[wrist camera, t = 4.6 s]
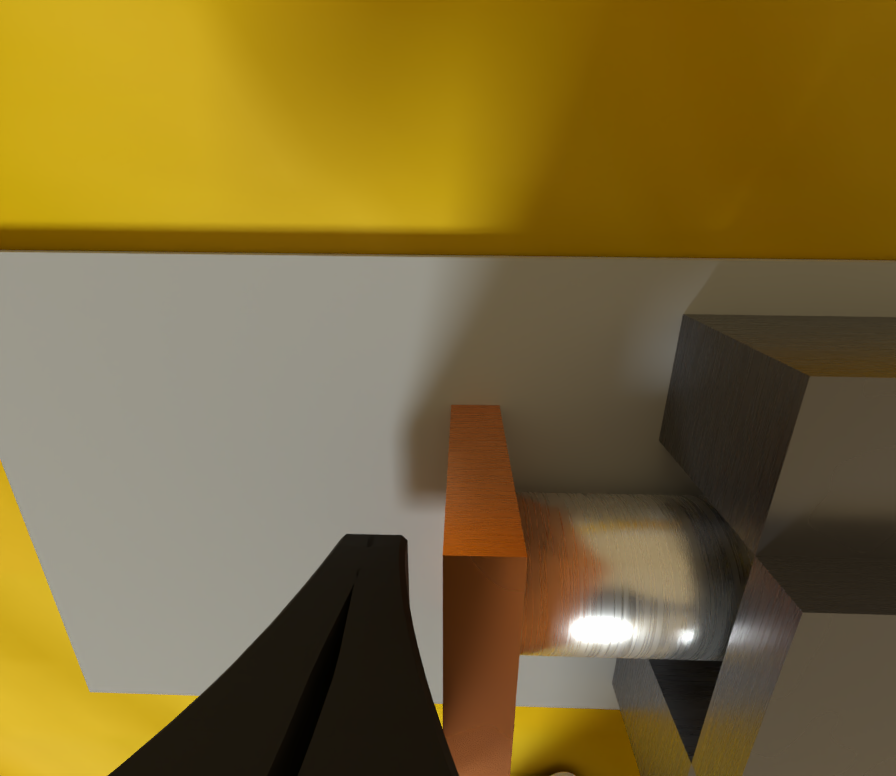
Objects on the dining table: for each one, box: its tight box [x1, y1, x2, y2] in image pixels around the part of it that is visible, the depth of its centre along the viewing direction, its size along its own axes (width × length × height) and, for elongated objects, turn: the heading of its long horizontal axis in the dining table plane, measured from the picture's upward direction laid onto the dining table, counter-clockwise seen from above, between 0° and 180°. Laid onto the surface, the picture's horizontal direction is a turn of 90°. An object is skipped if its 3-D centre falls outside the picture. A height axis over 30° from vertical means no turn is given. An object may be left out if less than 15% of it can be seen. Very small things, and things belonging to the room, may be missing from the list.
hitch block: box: [612, 314, 896, 776], centre depth 9 cm, size 5×10×4 cm, turn 0°
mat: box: [0, 250, 896, 710], centre depth 11 cm, size 22×12×1 cm, turn 90°
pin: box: [443, 405, 755, 776], centre depth 9 cm, size 8×6×4 cm
